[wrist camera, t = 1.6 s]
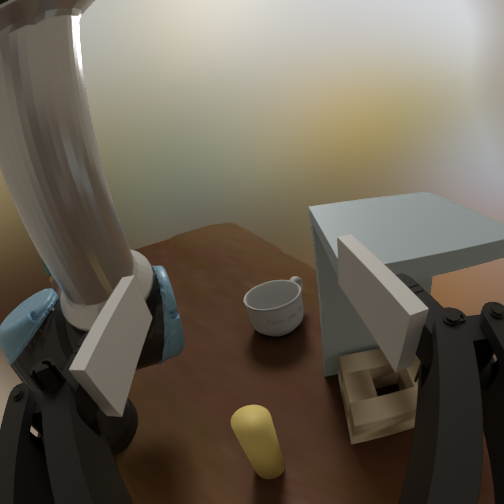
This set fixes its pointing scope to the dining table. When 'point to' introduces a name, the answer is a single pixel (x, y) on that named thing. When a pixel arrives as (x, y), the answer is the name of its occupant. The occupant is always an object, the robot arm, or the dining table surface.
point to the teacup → (275, 306)
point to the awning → (393, 254)
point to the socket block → (365, 397)
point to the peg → (258, 440)
